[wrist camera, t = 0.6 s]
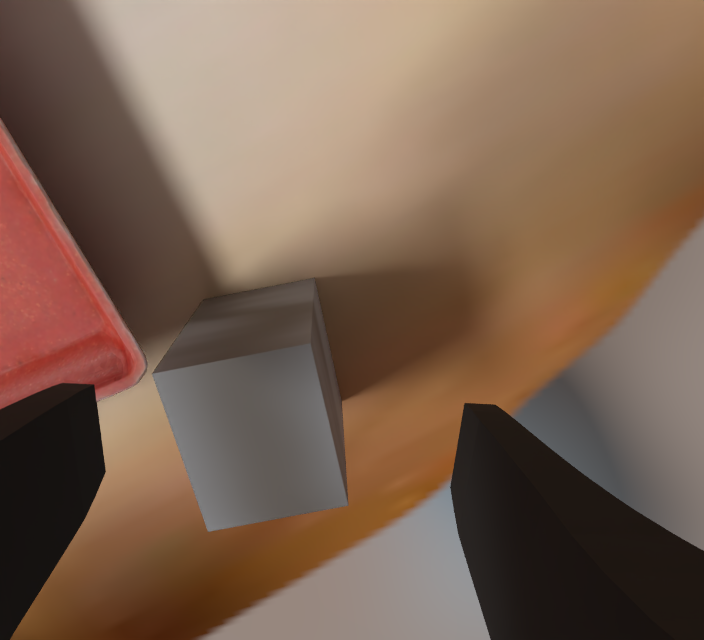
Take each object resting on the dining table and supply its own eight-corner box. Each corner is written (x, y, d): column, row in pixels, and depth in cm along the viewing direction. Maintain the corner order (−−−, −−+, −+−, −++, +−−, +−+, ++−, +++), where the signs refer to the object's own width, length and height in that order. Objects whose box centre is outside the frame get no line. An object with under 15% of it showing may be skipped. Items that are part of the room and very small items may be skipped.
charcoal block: (240, 420, 21) (208, 531, 15) (203, 299, 19) (152, 374, 13) (341, 400, 20) (348, 505, 15) (314, 277, 19) (310, 343, 13)
